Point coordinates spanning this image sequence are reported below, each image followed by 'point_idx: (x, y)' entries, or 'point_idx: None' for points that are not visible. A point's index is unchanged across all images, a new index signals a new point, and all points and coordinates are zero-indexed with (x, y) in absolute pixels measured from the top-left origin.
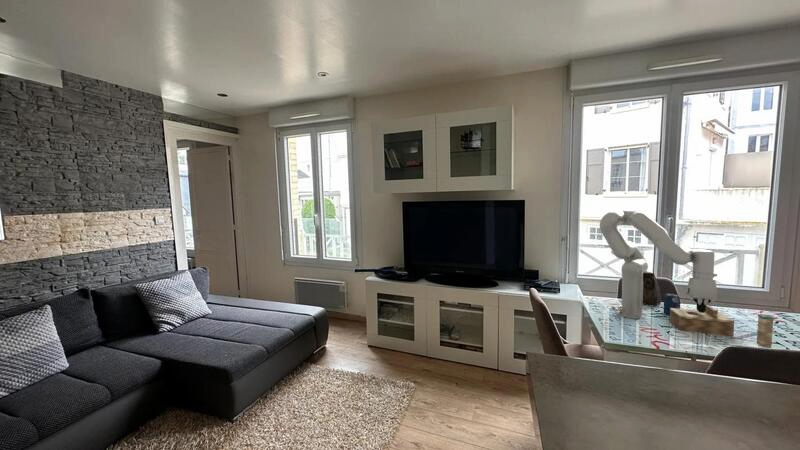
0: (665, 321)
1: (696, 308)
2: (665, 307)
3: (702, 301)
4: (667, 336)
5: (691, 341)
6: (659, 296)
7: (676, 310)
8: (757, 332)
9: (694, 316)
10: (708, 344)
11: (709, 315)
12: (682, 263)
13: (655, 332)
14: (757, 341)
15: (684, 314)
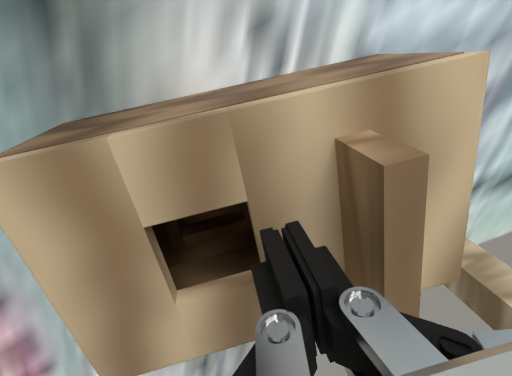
0: (25, 85)
1: (250, 267)
2: None
3: (356, 335)
4: (82, 364)
5: None
6: None
7: (54, 244)
8: (490, 292)
9: (211, 336)
10: (247, 349)
11: (338, 239)
12: None
13: (15, 348)
14: None
15: (136, 331)
